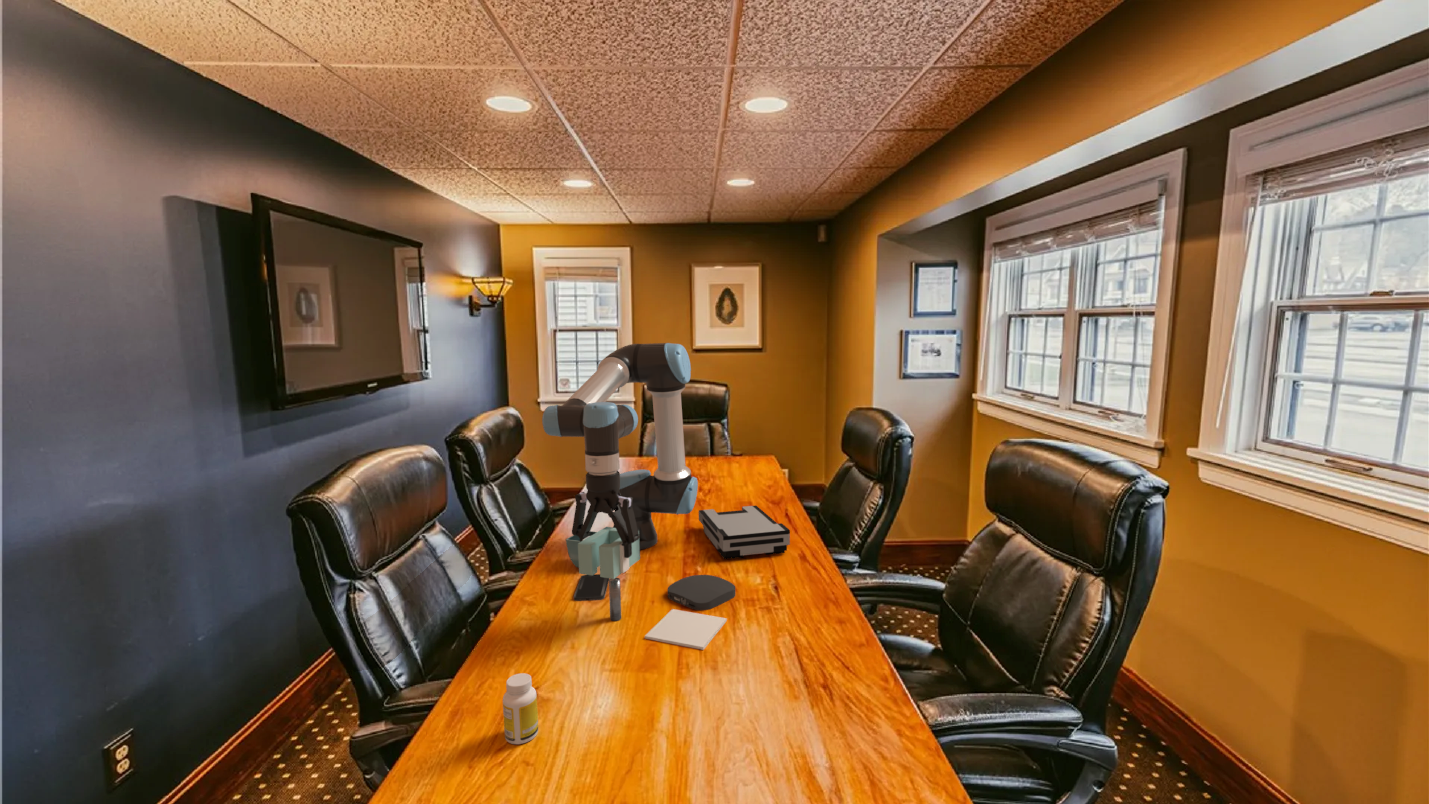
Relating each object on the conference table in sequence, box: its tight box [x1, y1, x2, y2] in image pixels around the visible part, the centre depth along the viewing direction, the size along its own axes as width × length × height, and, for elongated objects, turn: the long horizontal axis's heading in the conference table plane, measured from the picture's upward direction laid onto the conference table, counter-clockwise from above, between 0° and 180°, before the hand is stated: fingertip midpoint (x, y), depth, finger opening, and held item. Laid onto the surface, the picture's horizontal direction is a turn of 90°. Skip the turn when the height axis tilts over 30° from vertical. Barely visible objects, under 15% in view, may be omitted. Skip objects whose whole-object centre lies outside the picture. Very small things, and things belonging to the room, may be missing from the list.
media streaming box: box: [667, 574, 736, 611], centre depth 155 cm, size 15×15×3 cm
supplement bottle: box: [502, 672, 539, 745], centre depth 101 cm, size 5×5×10 cm
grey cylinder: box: [608, 577, 622, 622], centre depth 142 cm, size 3×3×10 cm
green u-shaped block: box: [578, 526, 641, 579], centre depth 139 cm, size 12×9×7 cm
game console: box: [698, 505, 791, 560], centre depth 195 cm, size 21×32×8 cm, turn 14°
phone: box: [573, 573, 610, 602], centre depth 160 cm, size 8×1×15 cm
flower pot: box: [565, 530, 598, 569], centre depth 175 cm, size 9×9×9 cm
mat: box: [644, 608, 728, 651], centre depth 137 cm, size 14×14×1 cm
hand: (606, 567), depth 138 cm, fingers closed on green u-shaped block, 9 cm apart
